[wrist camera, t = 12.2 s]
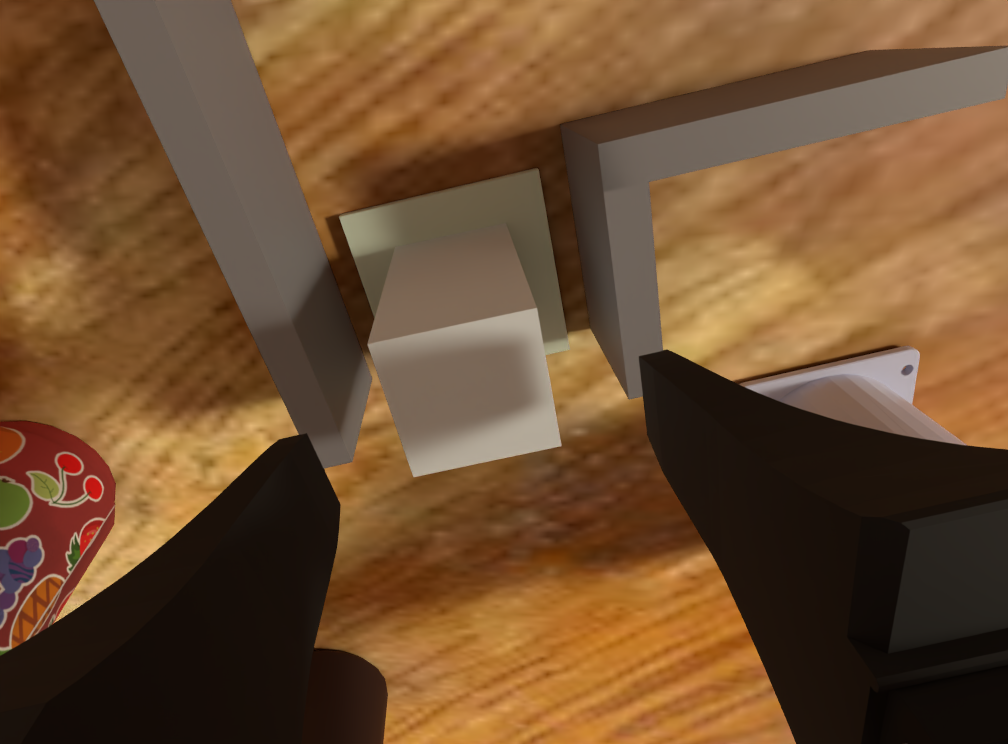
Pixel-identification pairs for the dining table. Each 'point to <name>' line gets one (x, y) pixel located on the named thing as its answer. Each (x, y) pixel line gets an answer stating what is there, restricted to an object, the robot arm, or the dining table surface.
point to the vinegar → (344, 700)
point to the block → (462, 353)
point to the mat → (460, 212)
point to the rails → (590, 168)
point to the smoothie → (47, 523)
